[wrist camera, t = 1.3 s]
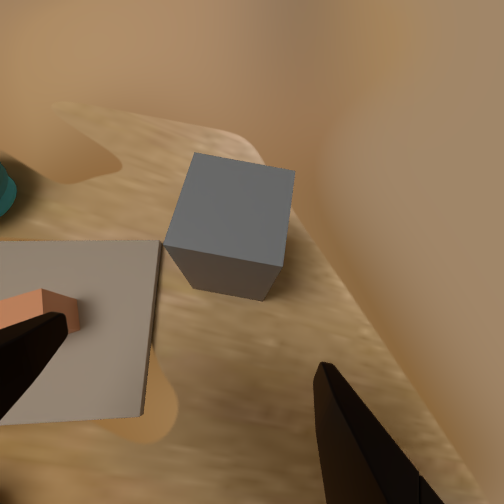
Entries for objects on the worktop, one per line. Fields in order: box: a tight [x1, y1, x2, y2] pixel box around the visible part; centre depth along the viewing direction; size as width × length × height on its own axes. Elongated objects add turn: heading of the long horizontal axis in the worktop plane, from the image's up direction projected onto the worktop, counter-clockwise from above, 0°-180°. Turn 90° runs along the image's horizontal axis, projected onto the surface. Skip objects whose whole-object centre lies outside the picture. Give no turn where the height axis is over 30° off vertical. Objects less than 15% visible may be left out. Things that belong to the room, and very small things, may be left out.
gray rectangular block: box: [163, 152, 295, 301], centre depth 19 cm, size 6×6×10 cm
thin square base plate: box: [0, 240, 162, 425], centre depth 18 cm, size 14×14×5 cm
